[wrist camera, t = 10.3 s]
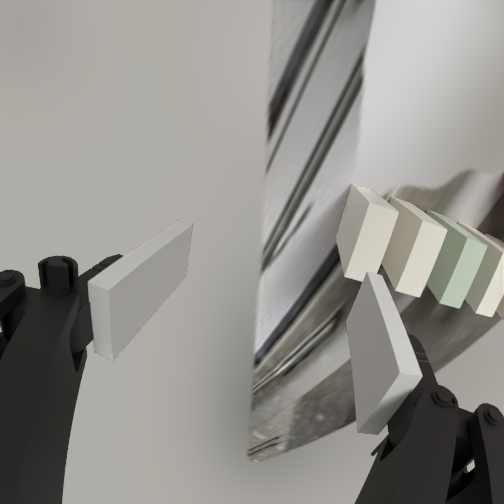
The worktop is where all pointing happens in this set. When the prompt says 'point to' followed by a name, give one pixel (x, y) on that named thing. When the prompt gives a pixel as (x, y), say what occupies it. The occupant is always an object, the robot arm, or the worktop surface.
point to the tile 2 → (412, 248)
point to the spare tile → (454, 263)
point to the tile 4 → (486, 277)
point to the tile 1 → (364, 232)
